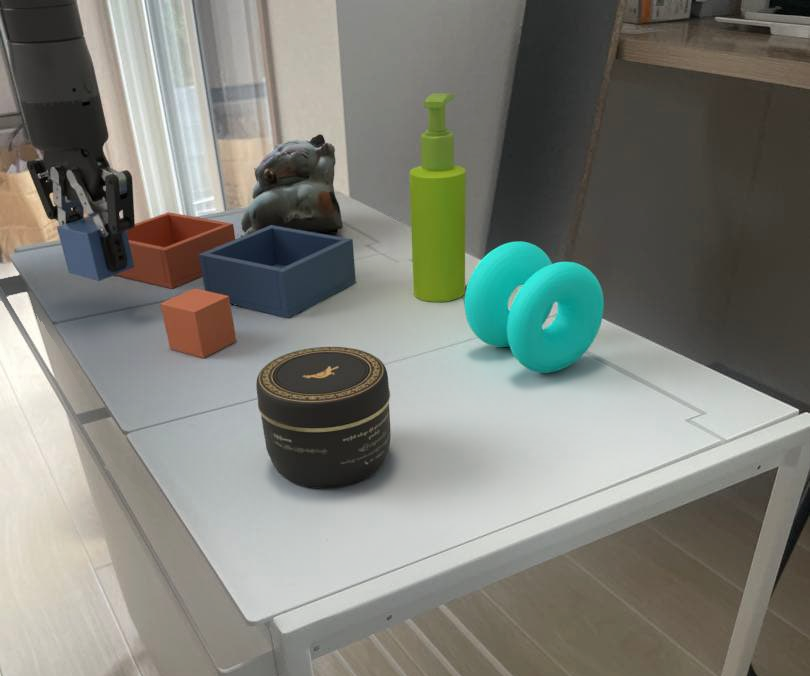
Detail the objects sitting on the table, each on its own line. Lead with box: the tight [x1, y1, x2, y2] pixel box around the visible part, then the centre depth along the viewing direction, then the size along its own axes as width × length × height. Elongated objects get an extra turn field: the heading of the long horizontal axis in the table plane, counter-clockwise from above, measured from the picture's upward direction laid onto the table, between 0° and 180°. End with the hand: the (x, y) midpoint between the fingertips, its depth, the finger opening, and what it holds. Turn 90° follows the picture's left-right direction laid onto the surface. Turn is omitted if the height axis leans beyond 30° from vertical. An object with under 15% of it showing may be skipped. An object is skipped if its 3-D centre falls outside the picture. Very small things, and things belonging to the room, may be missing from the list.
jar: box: [255, 346, 392, 489], centre depth 65 cm, size 10×10×8 cm
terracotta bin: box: [115, 211, 237, 289], centre depth 105 cm, size 12×12×5 cm
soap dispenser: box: [409, 93, 467, 303], centre depth 90 cm, size 6×7×20 cm
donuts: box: [464, 241, 605, 374], centre depth 78 cm, size 10×10×10 cm
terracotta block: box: [160, 287, 237, 359], centre depth 85 cm, size 5×5×5 cm
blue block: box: [56, 216, 134, 282], centre depth 91 cm, size 5×5×5 cm
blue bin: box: [199, 225, 357, 319], centre depth 97 cm, size 12×12×5 cm
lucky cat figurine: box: [240, 133, 344, 238], centre depth 112 cm, size 15×12×14 cm
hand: (100, 264), depth 92 cm, fingers closed on blue block, 5 cm apart
